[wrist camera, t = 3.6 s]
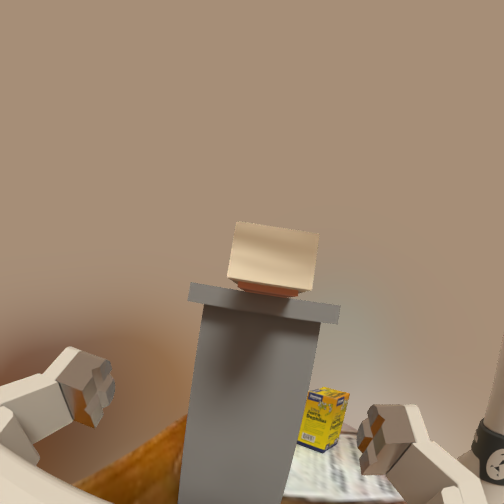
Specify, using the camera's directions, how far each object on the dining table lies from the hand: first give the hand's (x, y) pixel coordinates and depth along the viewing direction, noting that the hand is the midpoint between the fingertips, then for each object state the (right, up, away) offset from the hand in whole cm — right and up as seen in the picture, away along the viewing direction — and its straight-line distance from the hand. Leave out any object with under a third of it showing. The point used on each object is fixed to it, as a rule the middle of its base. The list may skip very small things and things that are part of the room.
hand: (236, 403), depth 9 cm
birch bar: (+2, +1, +19) cm, 19 cm away
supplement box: (+13, -31, +41) cm, 53 cm away
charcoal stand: (-2, -26, +21) cm, 33 cm away
